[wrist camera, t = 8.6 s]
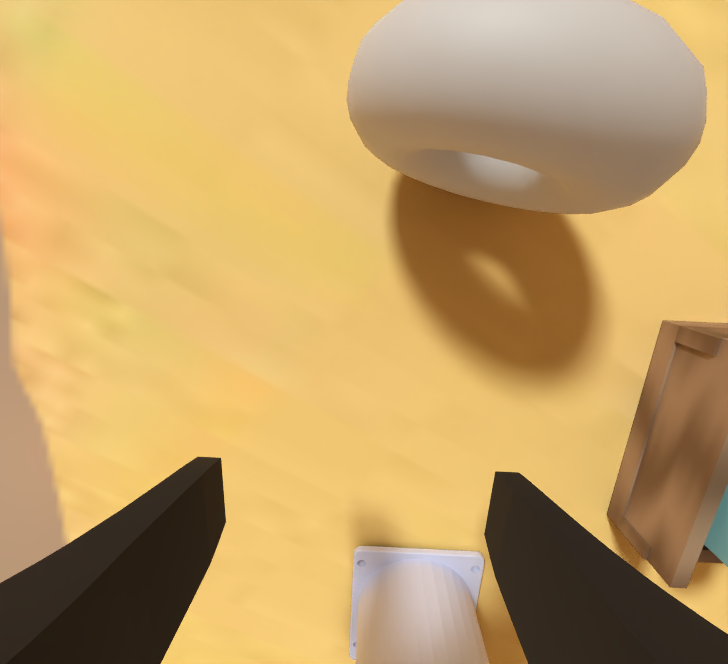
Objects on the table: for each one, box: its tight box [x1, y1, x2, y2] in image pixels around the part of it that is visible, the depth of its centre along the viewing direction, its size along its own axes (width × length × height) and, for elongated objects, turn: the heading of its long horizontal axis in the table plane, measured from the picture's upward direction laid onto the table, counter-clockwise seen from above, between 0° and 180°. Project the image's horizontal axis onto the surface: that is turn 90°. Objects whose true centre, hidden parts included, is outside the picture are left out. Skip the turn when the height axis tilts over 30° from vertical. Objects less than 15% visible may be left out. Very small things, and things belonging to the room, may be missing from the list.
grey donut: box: [347, 0, 707, 214], centre depth 11 cm, size 10×4×10 cm, turn 74°
